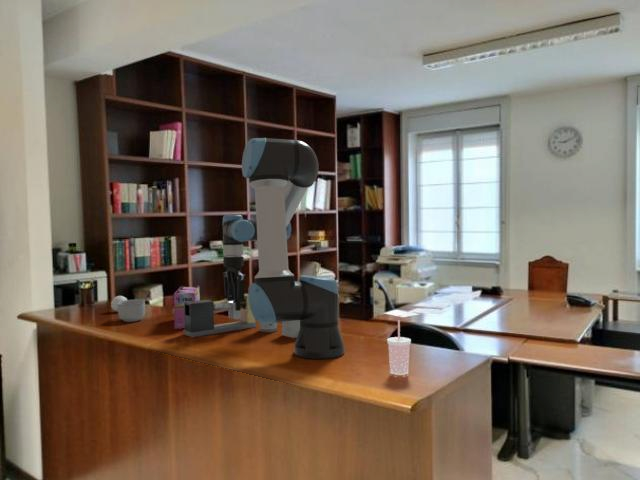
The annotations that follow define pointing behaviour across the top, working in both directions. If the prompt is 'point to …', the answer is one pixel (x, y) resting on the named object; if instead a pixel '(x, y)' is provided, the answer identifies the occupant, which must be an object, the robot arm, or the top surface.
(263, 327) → the travel mug
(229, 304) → the slip tube
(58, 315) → the top surface
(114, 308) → the white ovoid
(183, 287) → the gum box
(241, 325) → the base board
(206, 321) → the sleeve and socket
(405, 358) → the beverage cup
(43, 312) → the top surface
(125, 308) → the teacup
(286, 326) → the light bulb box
